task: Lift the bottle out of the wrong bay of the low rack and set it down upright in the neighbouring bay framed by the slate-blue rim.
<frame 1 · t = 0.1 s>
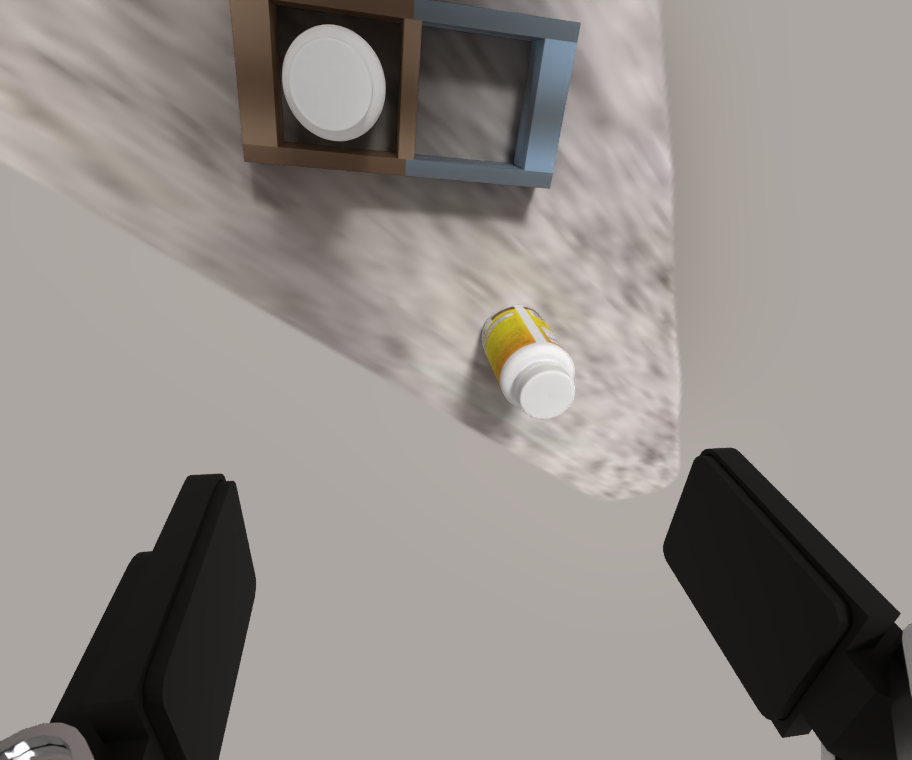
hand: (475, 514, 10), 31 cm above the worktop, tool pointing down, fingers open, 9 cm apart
supplement bottle: (341, 84, 33), resting in slot rack
supplement bottle 2: (511, 331, 44), on the worktop
slot rack: (406, 92, 33), on the worktop
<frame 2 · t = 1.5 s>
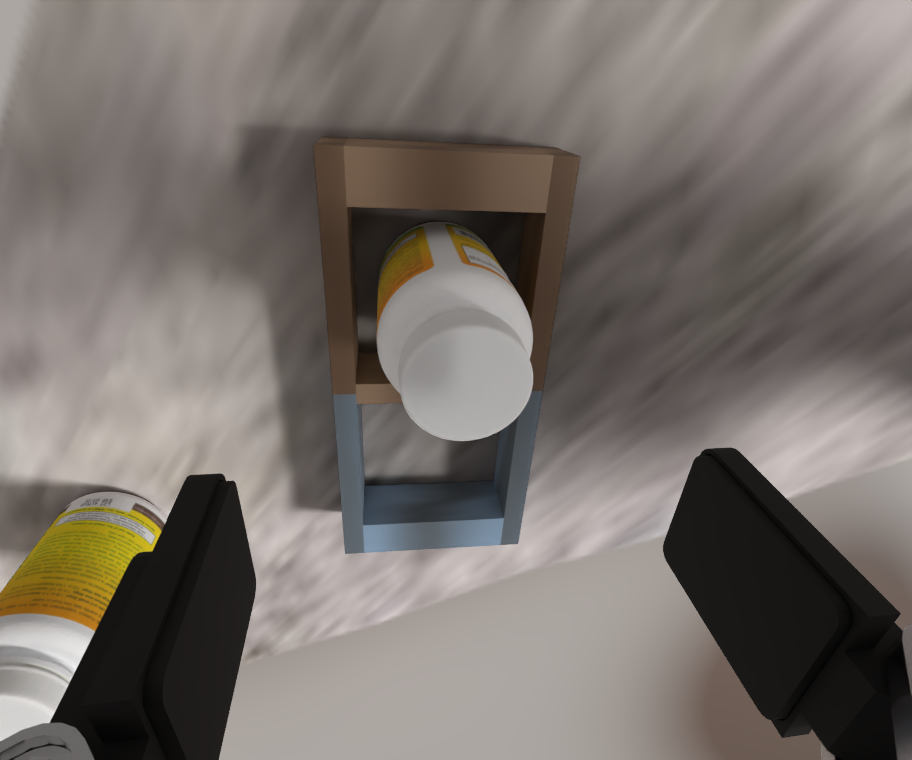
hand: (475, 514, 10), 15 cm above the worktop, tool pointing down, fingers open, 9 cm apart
supplement bottle: (437, 278, 23), resting in slot rack
supplement bottle 2: (122, 521, 28), on the worktop
slot rack: (434, 361, 25), on the worktop
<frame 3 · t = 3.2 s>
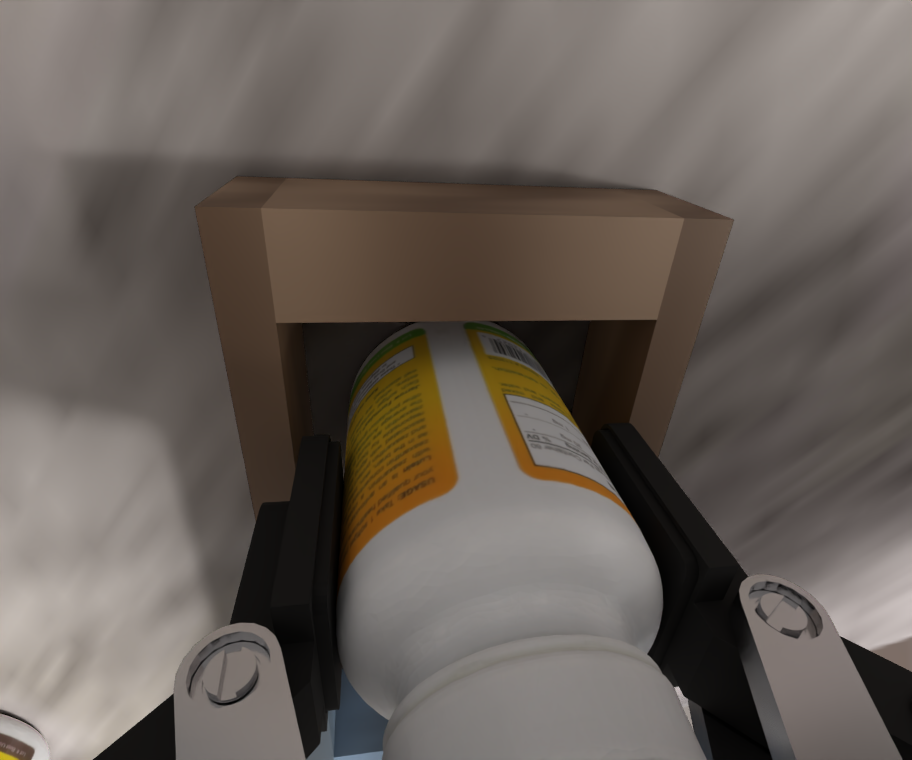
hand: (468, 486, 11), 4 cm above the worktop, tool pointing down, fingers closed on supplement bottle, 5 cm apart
supplement bottle: (446, 396, 14), resting in slot rack, touching gripper
slot rack: (441, 512, 16), on the worktop
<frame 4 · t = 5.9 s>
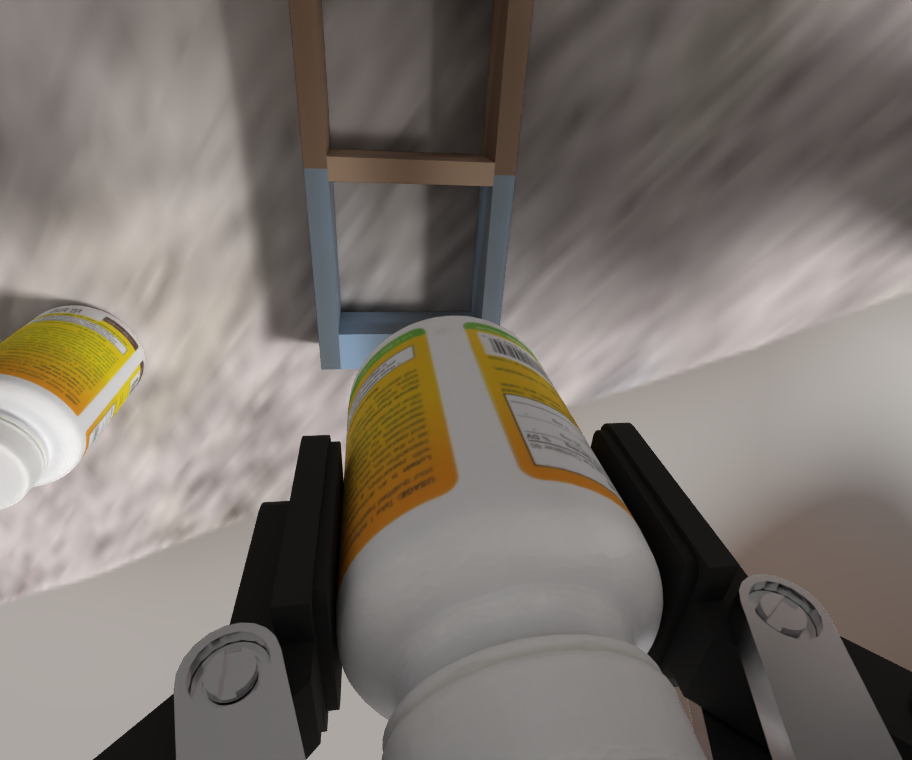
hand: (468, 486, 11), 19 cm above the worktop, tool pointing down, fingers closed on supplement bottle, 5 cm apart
supplement bottle: (446, 396, 14), point 15 cm above the worktop, touching gripper
supplement bottle 2: (94, 348, 28), on the worktop
slot rack: (408, 162, 25), on the worktop
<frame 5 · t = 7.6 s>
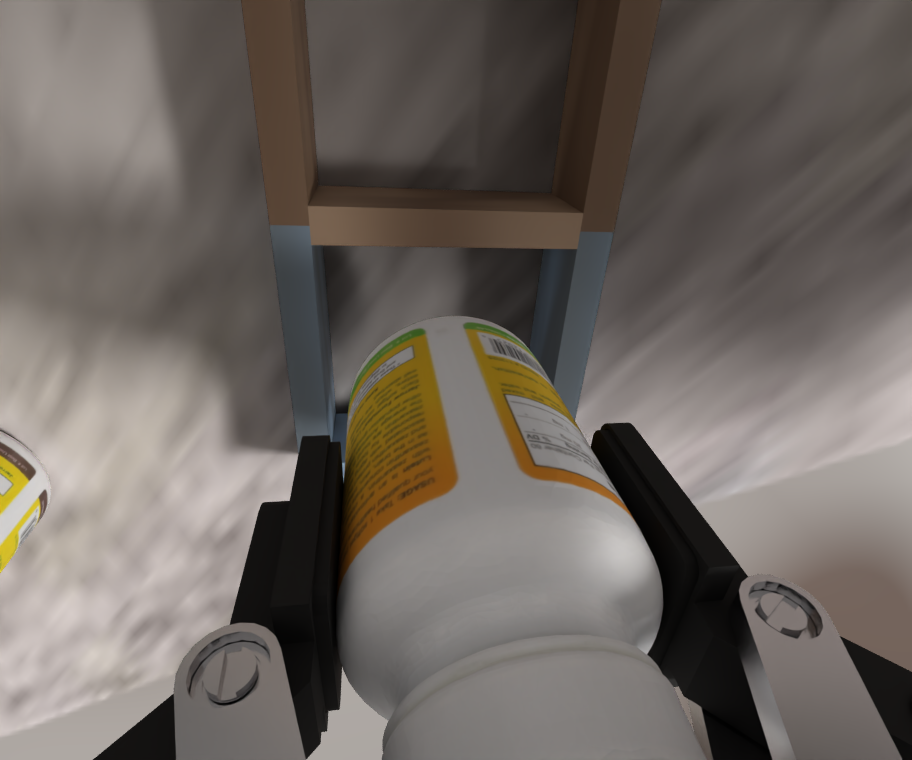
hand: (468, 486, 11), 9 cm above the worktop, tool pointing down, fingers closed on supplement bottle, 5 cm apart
supplement bottle: (446, 396, 14), point 5 cm above the worktop, touching gripper
slot rack: (438, 205, 16), on the worktop
when the fingers open (5 cm above the worktop, at t = 8.8 s): supplement bottle drops 1 cm, resting in slot rack.
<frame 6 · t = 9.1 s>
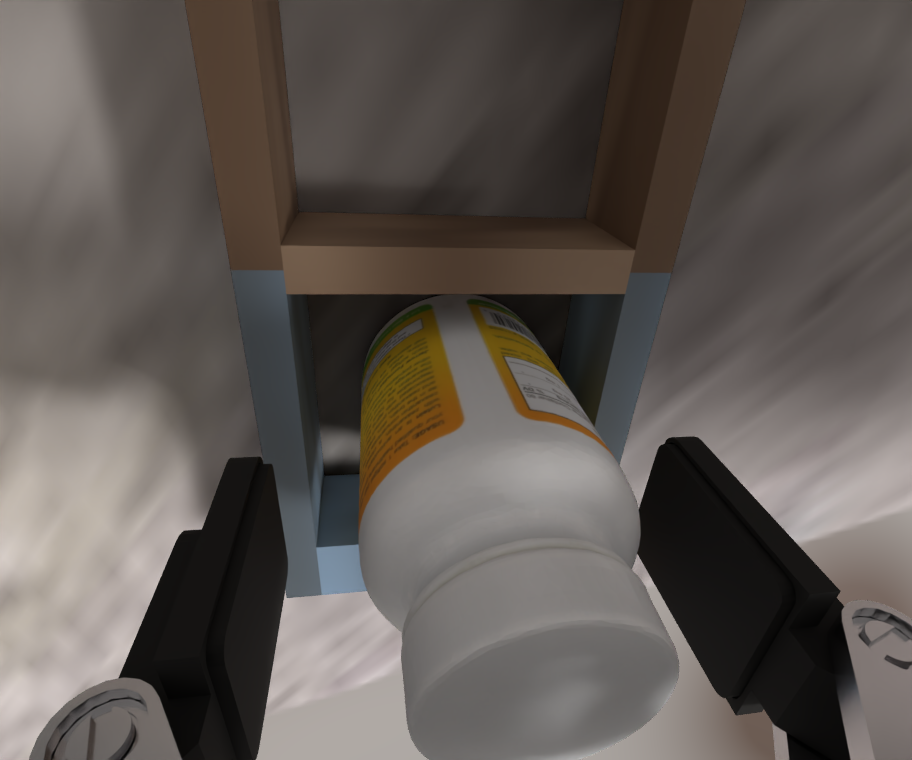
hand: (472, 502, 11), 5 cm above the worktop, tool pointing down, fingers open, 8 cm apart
supplement bottle: (451, 370, 16), resting in slot rack
slot rack: (447, 234, 13), on the worktop
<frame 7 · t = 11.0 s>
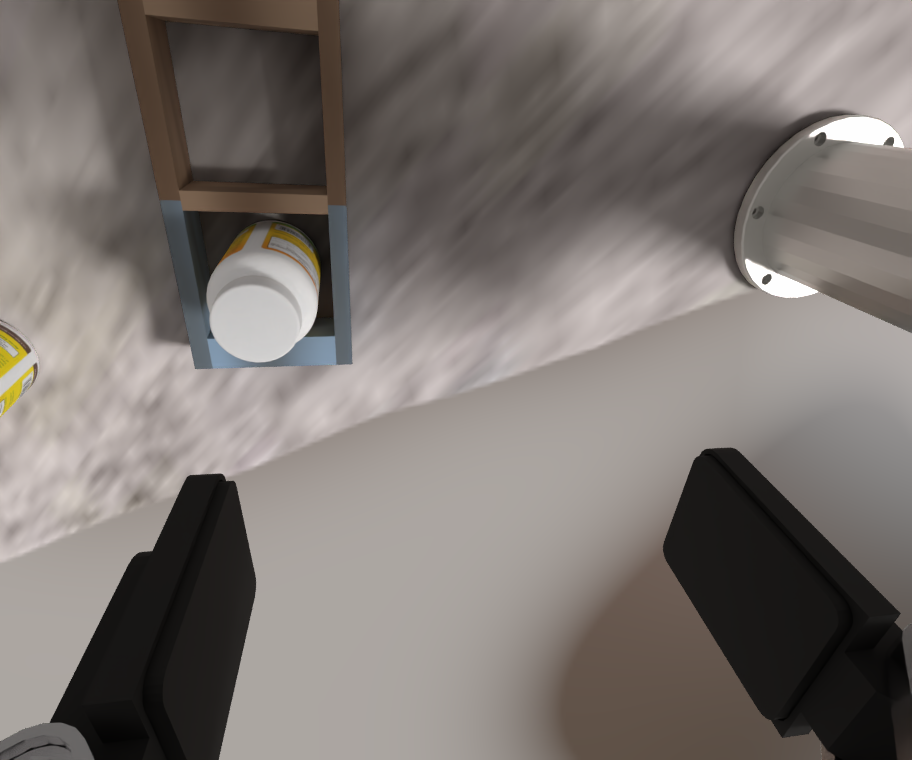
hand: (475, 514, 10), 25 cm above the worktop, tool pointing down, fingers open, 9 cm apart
supplement bottle: (277, 261, 32), resting in slot rack
slot rack: (263, 192, 30), on the worktop
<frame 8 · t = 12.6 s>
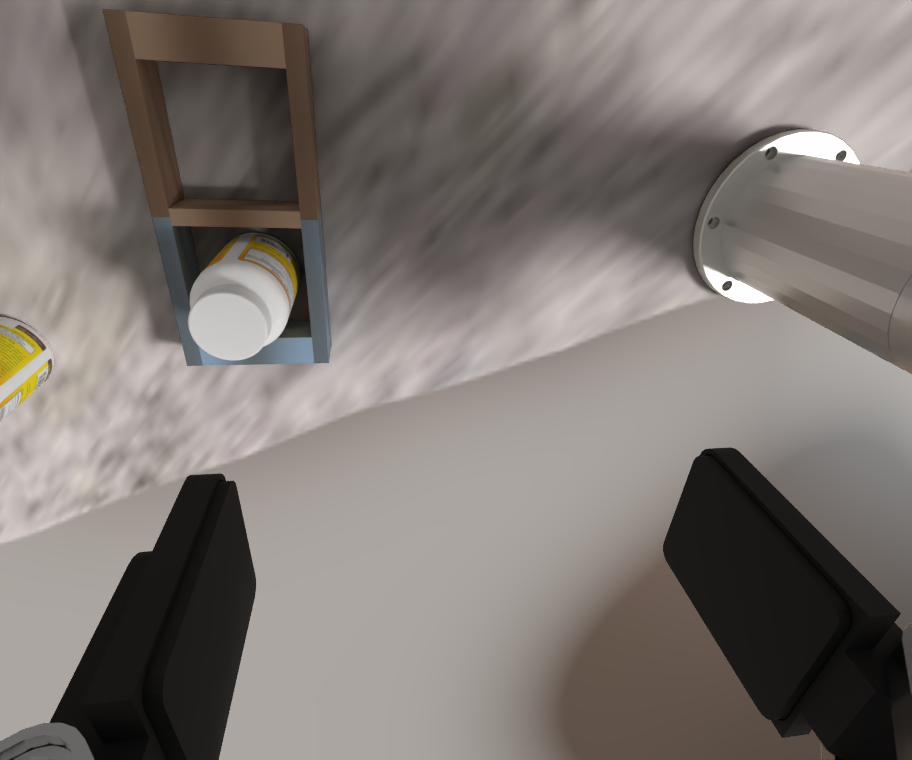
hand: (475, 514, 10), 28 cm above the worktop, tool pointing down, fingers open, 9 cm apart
supplement bottle: (261, 269, 35), resting in slot rack
supplement bottle 2: (13, 348, 36), on the worktop
slot rack: (246, 208, 33), on the worktop
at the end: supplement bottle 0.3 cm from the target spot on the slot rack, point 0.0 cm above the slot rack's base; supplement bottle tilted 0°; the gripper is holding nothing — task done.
